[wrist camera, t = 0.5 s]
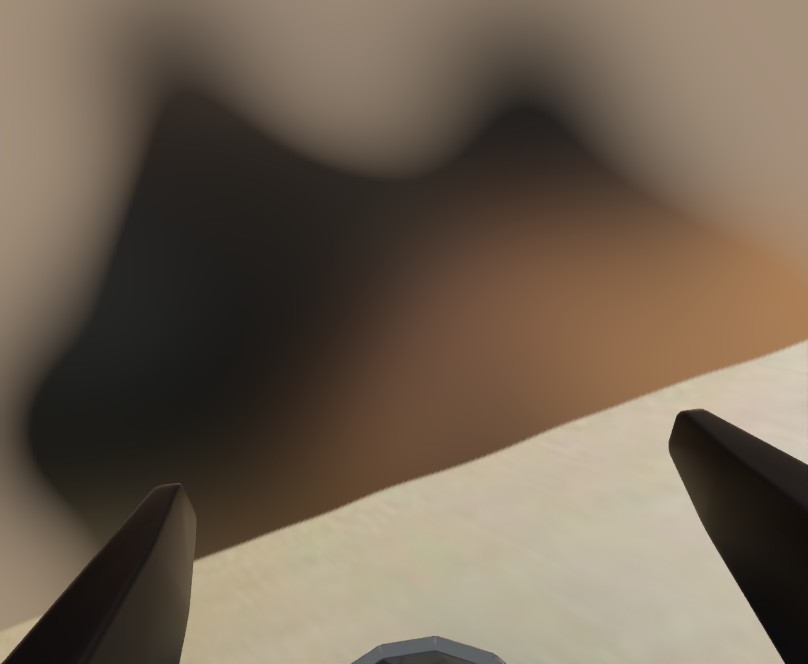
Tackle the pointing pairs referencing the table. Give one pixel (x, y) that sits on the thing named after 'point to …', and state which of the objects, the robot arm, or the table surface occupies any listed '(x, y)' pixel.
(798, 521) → the robot arm
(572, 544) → the table surface
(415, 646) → the bowl
